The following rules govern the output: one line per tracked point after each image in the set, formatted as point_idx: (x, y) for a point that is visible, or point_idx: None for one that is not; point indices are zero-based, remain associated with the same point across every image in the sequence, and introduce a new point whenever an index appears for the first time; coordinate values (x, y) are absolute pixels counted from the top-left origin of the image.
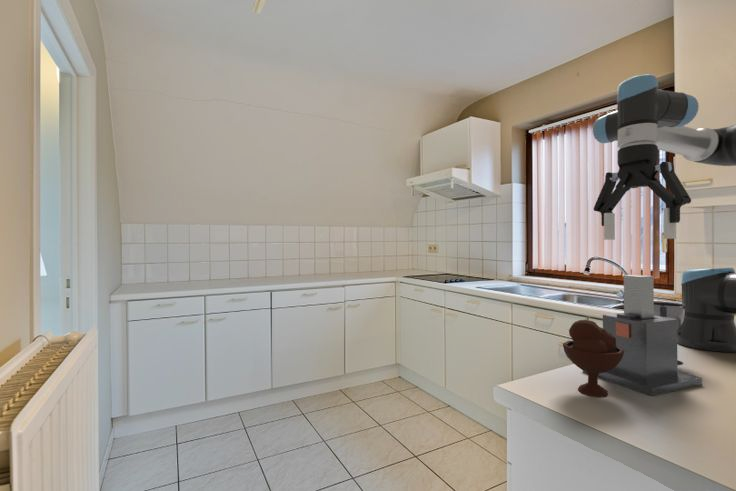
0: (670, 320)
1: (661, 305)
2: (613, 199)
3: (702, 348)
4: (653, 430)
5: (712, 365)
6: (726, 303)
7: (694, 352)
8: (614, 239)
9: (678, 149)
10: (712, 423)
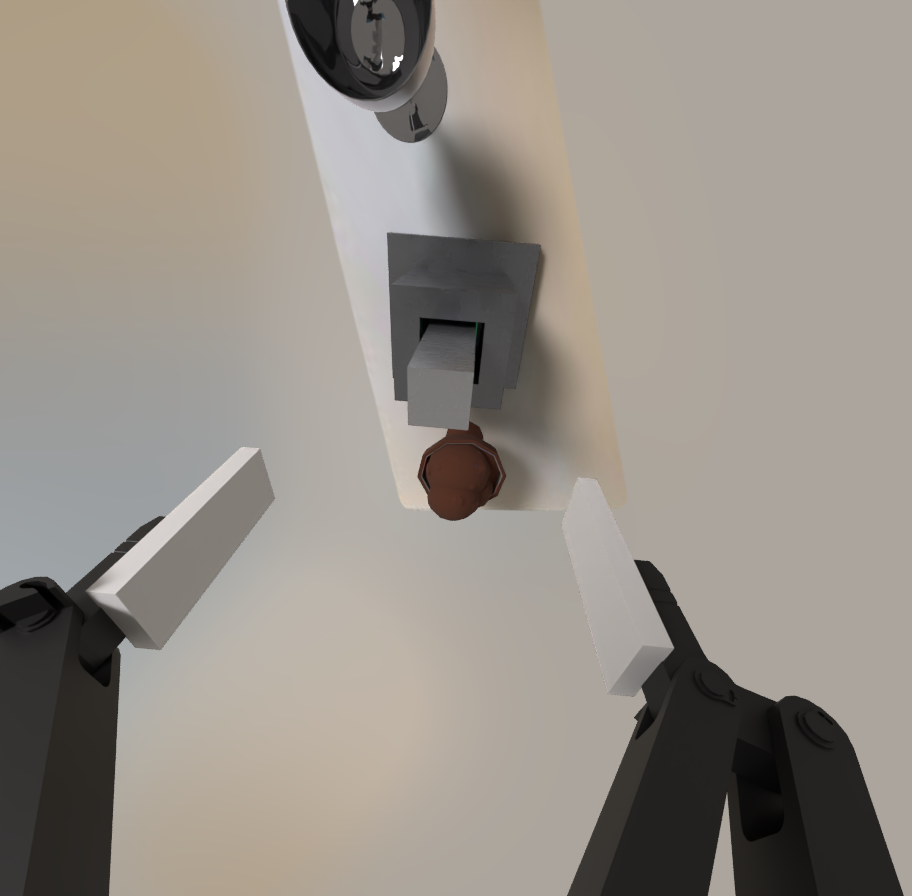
0: (513, 323)
1: (386, 96)
2: (109, 810)
3: None
4: (559, 474)
5: None
6: None
7: None
8: (259, 450)
9: None
10: (594, 407)
